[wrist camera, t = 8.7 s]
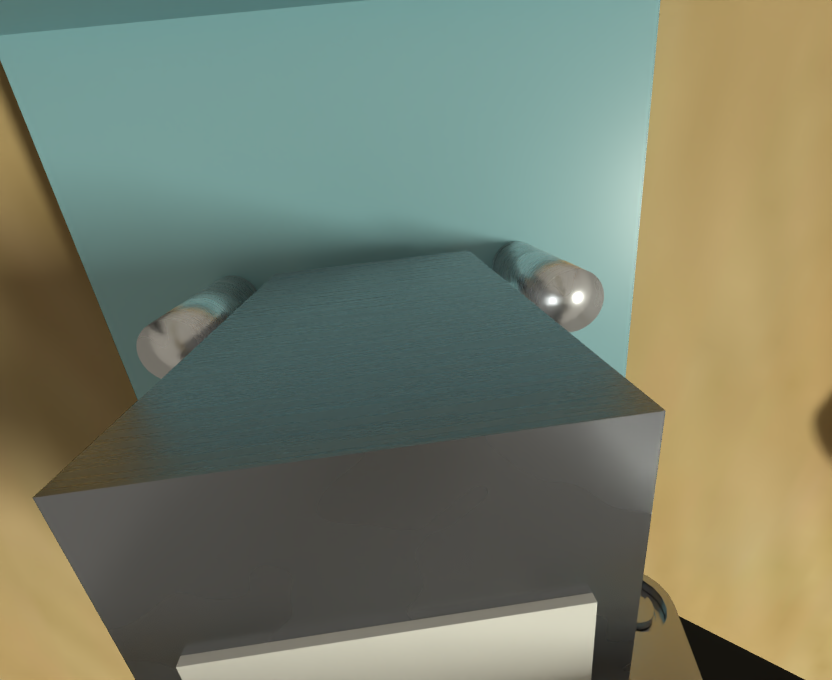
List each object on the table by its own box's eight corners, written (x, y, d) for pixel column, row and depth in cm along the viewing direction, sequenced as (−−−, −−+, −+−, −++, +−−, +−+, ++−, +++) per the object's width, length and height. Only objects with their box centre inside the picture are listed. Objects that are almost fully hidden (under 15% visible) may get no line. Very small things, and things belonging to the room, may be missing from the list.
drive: (275, 273, 11) (23, 508, 3) (468, 250, 11) (673, 417, 3) (351, 600, 15) (322, 1022, 8) (487, 579, 15) (593, 971, 8)
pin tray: (9, -7, 10) (-317, -169, 5) (639, -65, 11) (846, -257, 6) (262, 663, 20) (225, 818, 15) (589, 612, 21) (653, 745, 16)
